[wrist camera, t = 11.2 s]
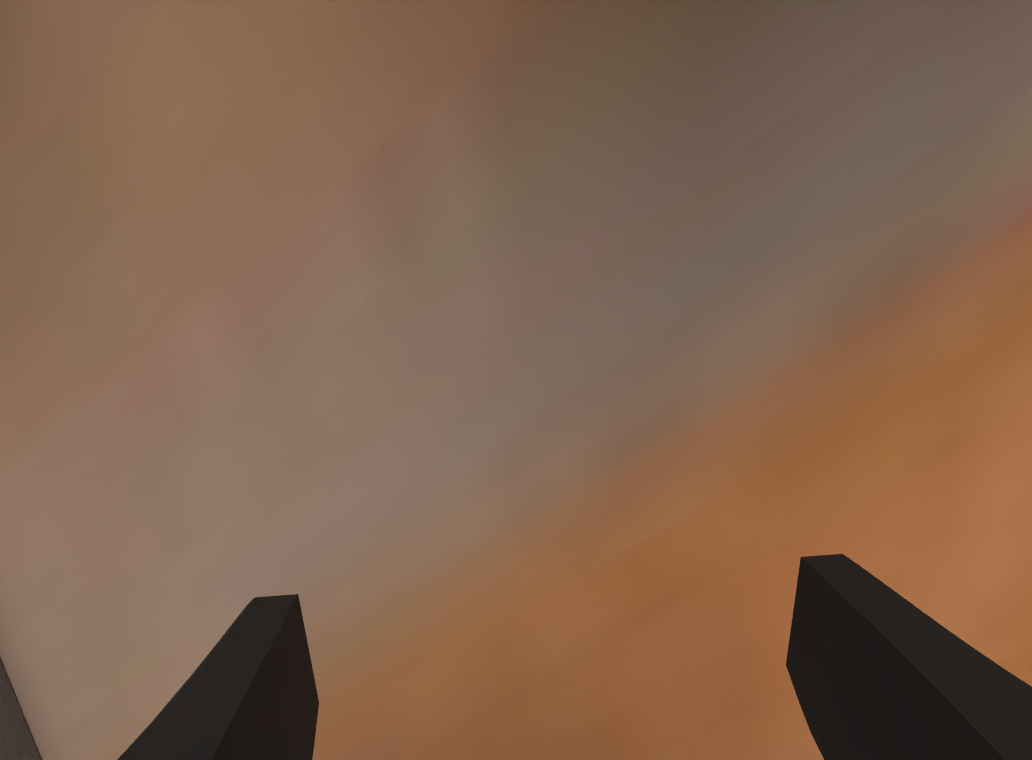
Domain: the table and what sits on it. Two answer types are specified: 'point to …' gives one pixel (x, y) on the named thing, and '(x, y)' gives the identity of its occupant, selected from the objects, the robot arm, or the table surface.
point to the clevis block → (13, 726)
